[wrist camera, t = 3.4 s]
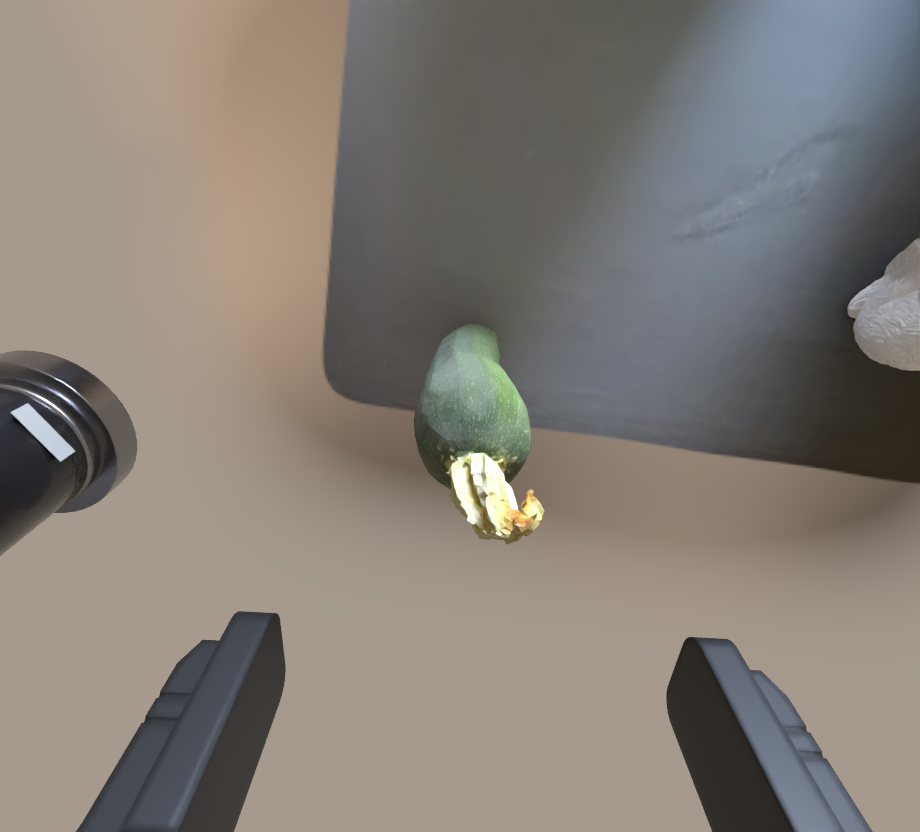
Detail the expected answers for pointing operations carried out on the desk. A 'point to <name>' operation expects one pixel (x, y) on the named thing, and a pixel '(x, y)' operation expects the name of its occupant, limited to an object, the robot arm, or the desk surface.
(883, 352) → the white animal figurine
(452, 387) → the vegetable
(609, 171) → the desk surface
